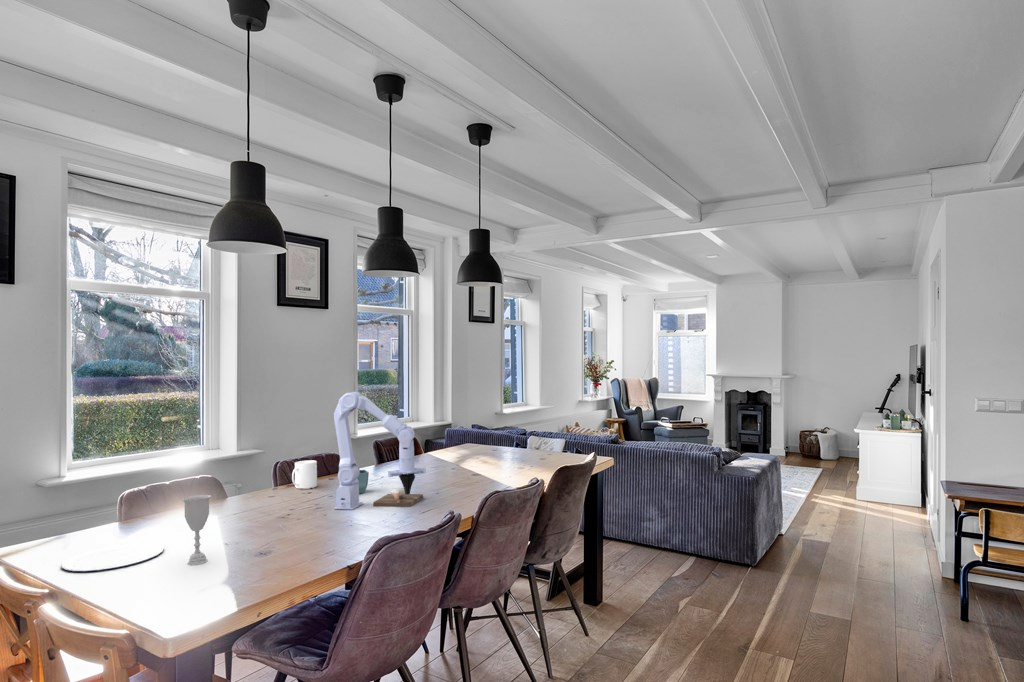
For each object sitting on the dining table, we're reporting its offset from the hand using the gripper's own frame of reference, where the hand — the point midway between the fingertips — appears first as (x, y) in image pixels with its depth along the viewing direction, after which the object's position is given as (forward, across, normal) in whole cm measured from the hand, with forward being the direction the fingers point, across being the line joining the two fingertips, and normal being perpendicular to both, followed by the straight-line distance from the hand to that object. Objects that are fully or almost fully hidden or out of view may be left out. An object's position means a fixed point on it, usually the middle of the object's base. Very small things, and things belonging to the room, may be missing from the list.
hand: (407, 493), depth 233 cm
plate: (+5, -93, -17) cm, 95 cm away
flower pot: (+4, -12, +34) cm, 36 cm away
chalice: (+5, -72, -35) cm, 80 cm away
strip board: (+4, -2, +6) cm, 8 cm away
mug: (+5, -30, +58) cm, 66 cm away
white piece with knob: (+1, -3, +3) cm, 4 cm away
